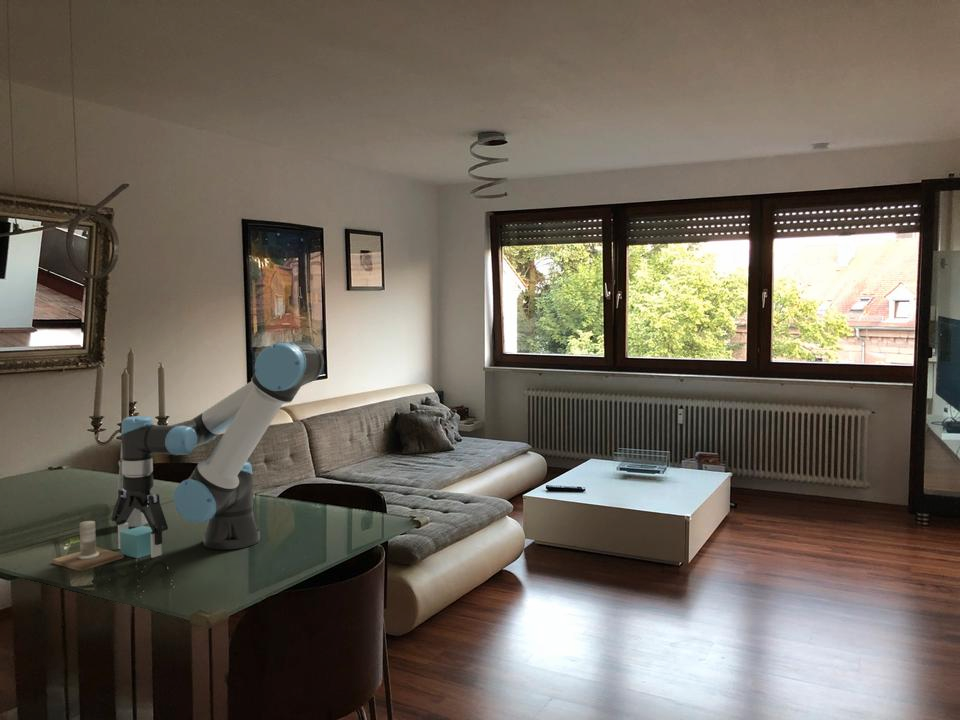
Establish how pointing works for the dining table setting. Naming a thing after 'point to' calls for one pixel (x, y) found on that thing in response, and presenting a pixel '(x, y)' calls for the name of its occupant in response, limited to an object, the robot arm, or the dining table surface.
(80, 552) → the wooden peg stand
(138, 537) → the teal block
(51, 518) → the dining table surface
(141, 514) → the water bottle
